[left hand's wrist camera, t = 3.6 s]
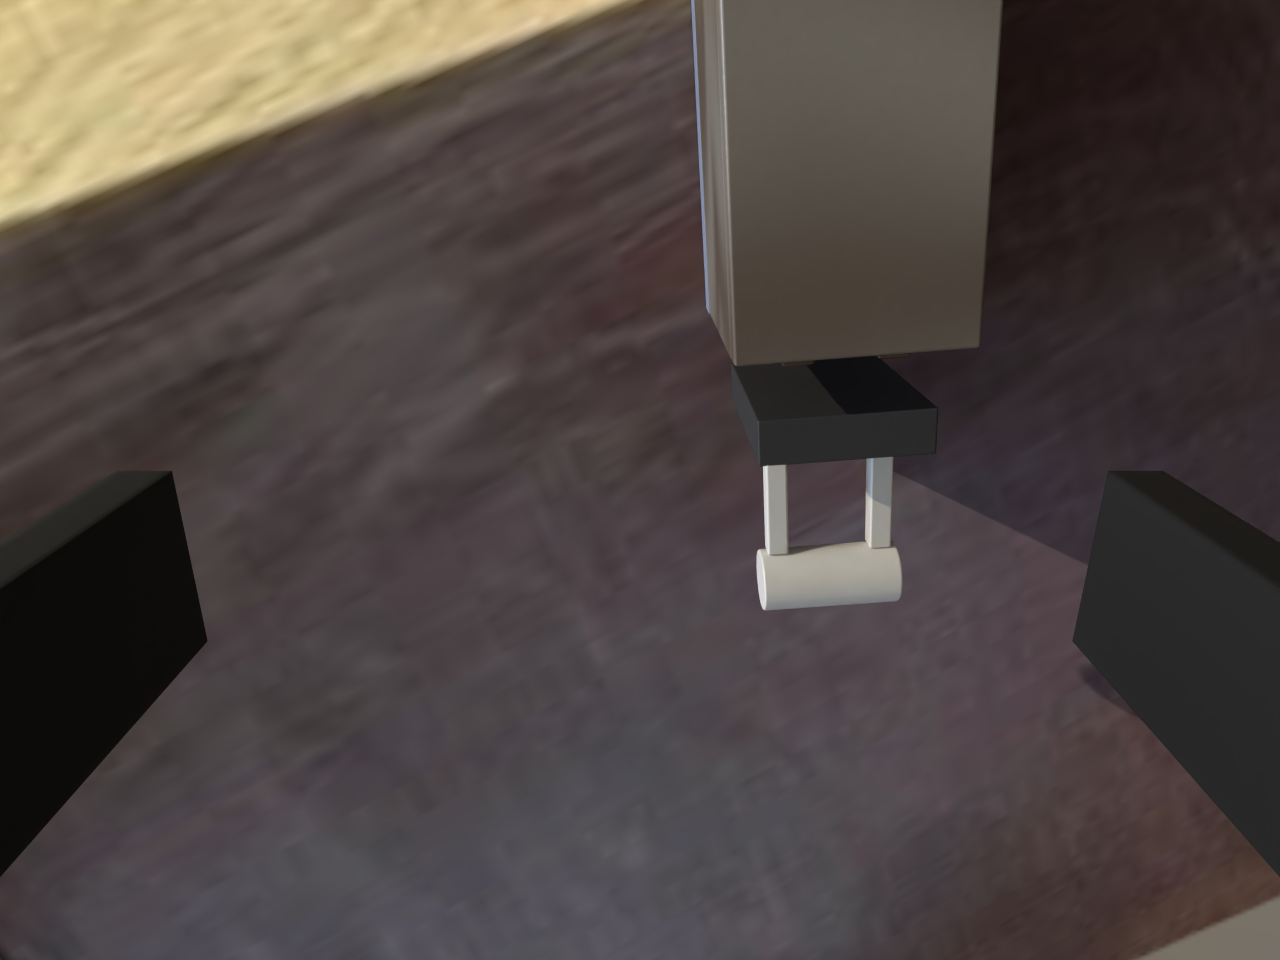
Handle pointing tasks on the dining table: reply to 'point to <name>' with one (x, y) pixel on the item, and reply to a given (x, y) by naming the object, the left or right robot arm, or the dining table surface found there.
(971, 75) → the cabinet
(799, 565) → the drawer
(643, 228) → the dining table surface
